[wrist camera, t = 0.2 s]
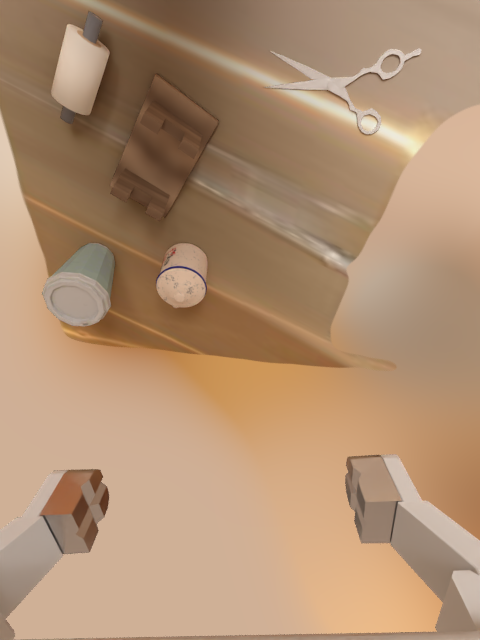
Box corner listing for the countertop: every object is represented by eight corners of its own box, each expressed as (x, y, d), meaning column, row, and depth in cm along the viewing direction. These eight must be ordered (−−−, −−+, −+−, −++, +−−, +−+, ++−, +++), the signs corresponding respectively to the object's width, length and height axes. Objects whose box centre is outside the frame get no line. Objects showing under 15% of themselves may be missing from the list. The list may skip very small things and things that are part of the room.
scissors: (385, 137, 51) (257, 114, 48) (383, 136, 51) (257, 113, 49) (422, 49, 43) (274, 17, 41) (419, 48, 44) (273, 16, 42)
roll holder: (156, 73, 45) (144, 83, 39) (218, 120, 49) (216, 136, 43) (111, 183, 55) (96, 204, 49) (165, 215, 59) (158, 238, 53)
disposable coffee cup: (60, 236, 62) (23, 285, 51) (114, 227, 61) (88, 275, 50) (87, 281, 69) (59, 332, 58) (136, 274, 68) (117, 325, 57)
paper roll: (81, 0, 40) (65, -1, 36) (121, 31, 42) (110, 33, 38) (55, 104, 47) (39, 112, 44) (90, 126, 49) (78, 135, 46)
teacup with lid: (168, 235, 62) (157, 271, 53) (214, 248, 64) (211, 285, 56) (157, 283, 70) (146, 321, 61) (198, 294, 72) (194, 332, 63)
